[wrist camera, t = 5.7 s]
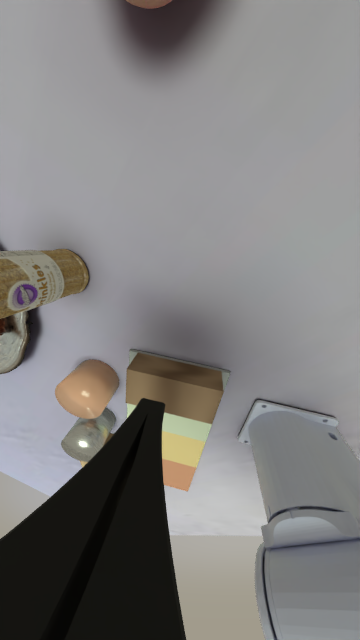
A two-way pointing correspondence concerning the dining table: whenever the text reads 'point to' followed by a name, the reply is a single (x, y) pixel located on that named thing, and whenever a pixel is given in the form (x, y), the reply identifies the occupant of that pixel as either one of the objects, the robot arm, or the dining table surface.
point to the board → (180, 438)
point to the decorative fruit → (149, 3)
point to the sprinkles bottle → (38, 278)
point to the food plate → (13, 340)
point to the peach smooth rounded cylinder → (87, 389)
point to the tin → (88, 436)
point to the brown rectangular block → (175, 386)
